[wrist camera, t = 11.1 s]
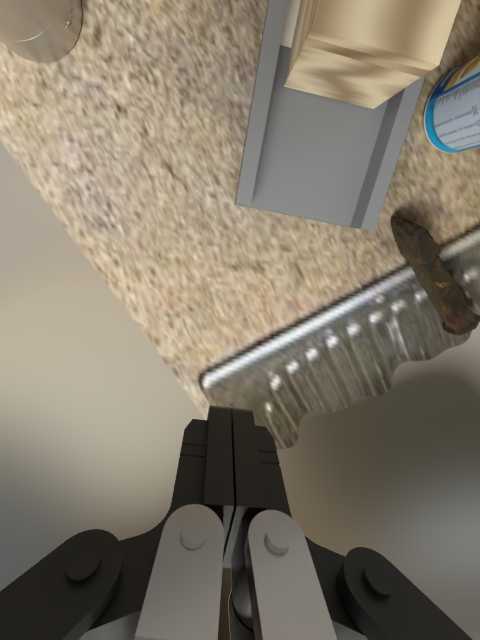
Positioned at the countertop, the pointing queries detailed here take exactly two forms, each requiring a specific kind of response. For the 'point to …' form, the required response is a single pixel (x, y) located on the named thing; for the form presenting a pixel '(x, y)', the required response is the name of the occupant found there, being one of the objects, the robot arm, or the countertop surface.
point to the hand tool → (434, 276)
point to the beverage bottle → (455, 110)
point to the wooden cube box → (367, 46)
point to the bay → (316, 141)
